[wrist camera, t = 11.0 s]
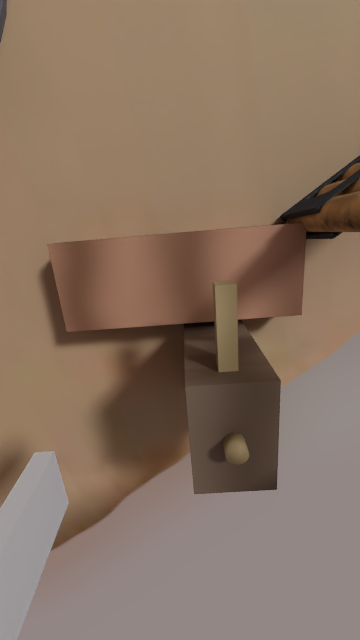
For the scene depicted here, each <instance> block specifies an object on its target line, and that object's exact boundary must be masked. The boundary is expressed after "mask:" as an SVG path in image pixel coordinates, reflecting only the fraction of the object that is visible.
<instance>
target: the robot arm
mask: <svg viewBox="0 0 360 640" xmlns="http://www.w3.org/2000/svg"><path fill="white" fill-rule="evenodd" d="M68 503H69V502H68V499H67V495H66V492H65V488H64V484H63V481H62V477H61V474H60V470H59V467H58V463H57V460H56V456H55V453H54V451H49V452H37V453H34V454H33V456H32V458H31V459H30V461H29V463H28V464H27V466H26V467H25V469H24V471H23V472H22V474H21V476H20V477H19V479H18V480H17V482H16V484H15V485H14V487H13V489H12V490H11V492H10V493H9V495H8V497H7V498H6V500H5V502H4V503H3V505H2V506H1V508H0V640H17V638H18V635H19V633H20V630H21V627H22V625H23V622H24V620H25V617H26V614H27V612H28V609H29V606H30V604H31V601H32V598H33V596H34V593H35V591H36V588H37V585H38V582H39V580H40V577H41V575H42V572H43V569H44V567H45V564H46V561H47V559H48V556H49V554H50V551H51V548H52V546H53V543H54V540H55V538H56V535H57V532H58V530H59V527H60V524H61V522H62V519H63V517H64V514H65V511H66V509H67V506H68Z"/></svg>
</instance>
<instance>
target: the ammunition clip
mask: <svg viewBox="0 0 360 640" xmlns="http://www.w3.org/2000/svg"><path fill="white" fill-rule="evenodd" d="M358 161H360V156H358V157H357V158H356V159H354V160H353V161H352V162H350V163H349V164H348V165H347V166H345V167H344V168H343V169H341V170H340V171H339V172H337V173H336V174H335V175H333V176H332V177H331V178H329V179H328V180H327V181H325V182H324V183H323V184H322V185H320V186H319V187H318V188H316V189H315V190H314V191H312V192H311V193H310V194H308V195H307V196H306V197H304V198H303V199H302V200H301V201H299V202H298V203H297V204H295V205H294V206H293V207H291V208H290V209H289V210H287V211H286V212H285V213H283V214H282V215H281V217H280V218H281V219H282V220H286V219H287V224H291V223H303V225H304V227H305V228H306V239H333V238H335V237H336V236H338V235H339V234H341V233H342V232H360V163H357V162H358ZM356 163H357V164H356ZM336 178H337V179H336ZM335 179H336V183H332V184H329V183H331V182H332V181H333V180H335ZM328 184H329V185H328ZM311 197H312V198H311Z"/></svg>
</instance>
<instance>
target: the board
mask: <svg viewBox="0 0 360 640" xmlns="http://www.w3.org/2000/svg"><path fill="white" fill-rule="evenodd" d="M47 245H48V250H49V254H50V259H51V263H52V268H53V272H54V277H55V281H56V286H57V290H58V295H59V299H60V304H61V308H62V313H63V318H64V322H65V327H66V331H67V332H74V331H88V330H102V329H115V328H129V327H143V326H157V325H170V324H184V323H198V322H212V321H214V302H213V282H216V281H229V280H233V281H234V282H235V283H236V284H237V318H238V320H239V319H253V318H267V317H280V316H294V315H301V314H302V297H303V280H304V263H305V246H306V228H305V227H304V225H303V223H291V224H278V225H266V226H254V227H242V228H230V229H218V230H206V231H194V232H182V233H170V234H159V235H147V236H135V237H123V238H111V239H99V240H87V241H75V242H63V243H54V244H47Z"/></svg>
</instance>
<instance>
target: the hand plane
mask: <svg viewBox="0 0 360 640" xmlns="http://www.w3.org/2000/svg"><path fill="white" fill-rule="evenodd" d="M6 4H7V0H0V42H1V38H2V33H3V28H4V24H5V19H6Z"/></svg>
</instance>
